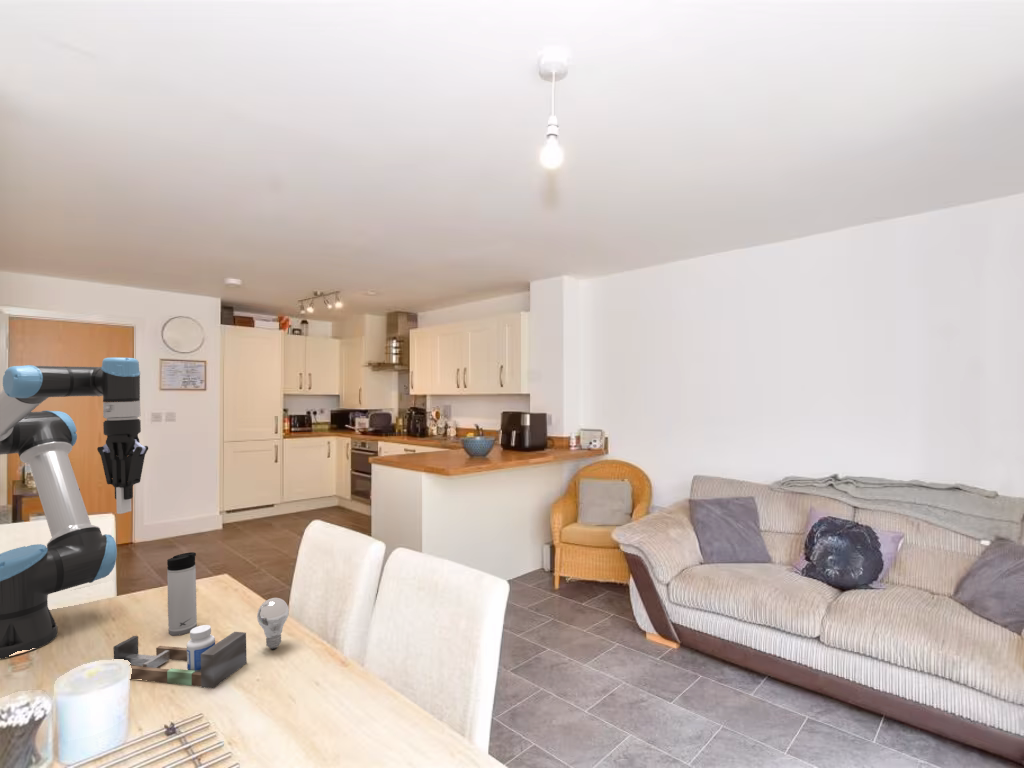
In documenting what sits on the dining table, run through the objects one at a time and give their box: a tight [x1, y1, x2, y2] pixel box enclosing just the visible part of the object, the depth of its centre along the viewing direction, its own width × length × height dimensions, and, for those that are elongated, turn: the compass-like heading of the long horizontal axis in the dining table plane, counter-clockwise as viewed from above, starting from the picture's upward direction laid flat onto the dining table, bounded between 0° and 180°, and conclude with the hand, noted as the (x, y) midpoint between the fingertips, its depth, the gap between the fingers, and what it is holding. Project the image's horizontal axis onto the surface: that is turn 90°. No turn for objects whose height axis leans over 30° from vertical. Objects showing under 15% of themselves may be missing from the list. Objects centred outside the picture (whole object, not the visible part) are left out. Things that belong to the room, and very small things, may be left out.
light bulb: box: [256, 597, 290, 650], centre depth 125 cm, size 7×7×12 cm
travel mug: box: [166, 551, 198, 637], centre depth 136 cm, size 6×7×20 cm
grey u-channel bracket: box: [113, 635, 171, 668], centre depth 118 cm, size 9×6×5 cm, turn 79°
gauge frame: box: [130, 631, 248, 689], centre depth 116 cm, size 23×10×7 cm, turn 79°
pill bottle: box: [186, 624, 216, 672], centre depth 115 cm, size 6×5×10 cm
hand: (124, 512), depth 131 cm, fingers closed
